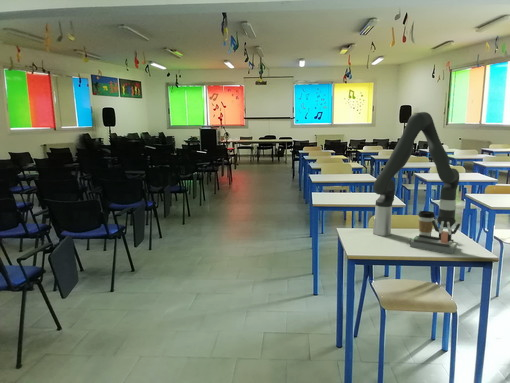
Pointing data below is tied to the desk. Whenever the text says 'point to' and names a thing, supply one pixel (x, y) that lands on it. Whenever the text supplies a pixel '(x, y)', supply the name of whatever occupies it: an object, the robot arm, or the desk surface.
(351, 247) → the desk surface
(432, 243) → the switch box
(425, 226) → the coffee cup
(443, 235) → the handle
